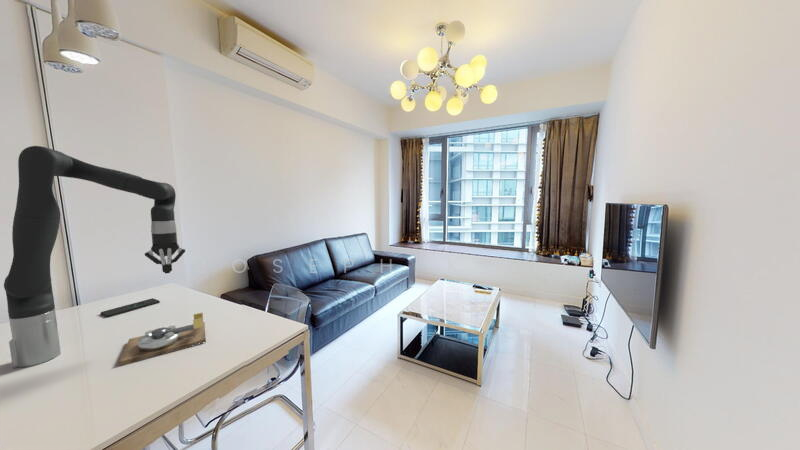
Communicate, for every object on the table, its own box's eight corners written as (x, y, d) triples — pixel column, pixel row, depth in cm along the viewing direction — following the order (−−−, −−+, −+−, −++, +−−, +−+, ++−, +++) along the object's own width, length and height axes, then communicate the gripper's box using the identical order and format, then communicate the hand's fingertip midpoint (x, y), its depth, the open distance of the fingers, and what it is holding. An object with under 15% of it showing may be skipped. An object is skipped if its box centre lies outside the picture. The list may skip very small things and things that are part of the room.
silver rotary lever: (141, 340, 101) (140, 322, 100) (203, 325, 113) (202, 310, 112) (135, 355, 92) (133, 336, 91) (203, 338, 104) (202, 321, 103)
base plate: (119, 365, 89) (118, 361, 88) (129, 342, 103) (129, 338, 102) (205, 342, 104) (205, 338, 103) (204, 324, 118) (204, 321, 117)
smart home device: (160, 300, 140) (107, 315, 122) (160, 303, 141) (107, 318, 123) (152, 297, 144) (100, 311, 126) (152, 300, 144) (100, 315, 126)
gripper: (185, 229, 112) (188, 268, 113) (142, 231, 103) (146, 273, 105) (185, 231, 106) (187, 272, 108) (139, 234, 97) (143, 278, 99)
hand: (167, 272), depth 106 cm, fingers closed
